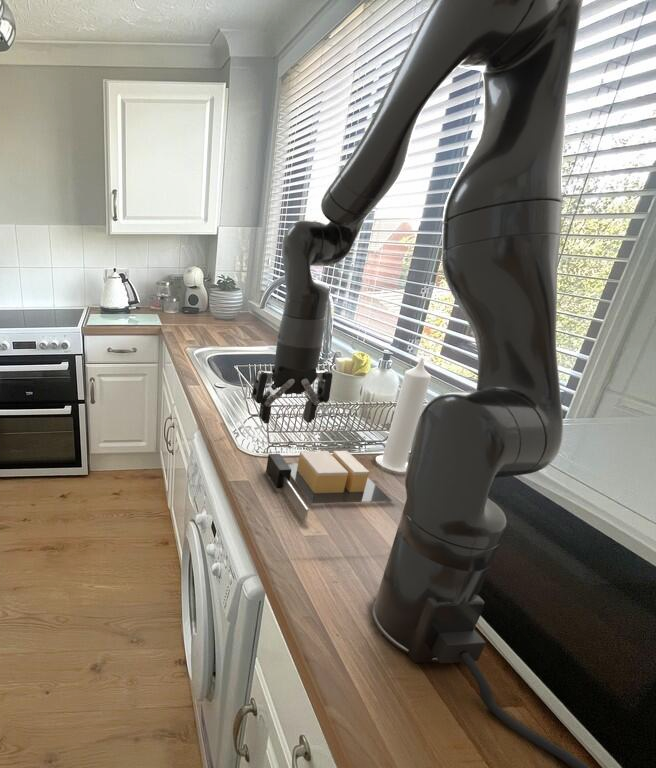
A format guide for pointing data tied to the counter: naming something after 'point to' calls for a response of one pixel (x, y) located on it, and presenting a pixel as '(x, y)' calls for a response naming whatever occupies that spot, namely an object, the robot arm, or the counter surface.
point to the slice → (352, 471)
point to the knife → (285, 482)
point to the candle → (405, 418)
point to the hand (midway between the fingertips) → (286, 421)
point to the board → (368, 495)
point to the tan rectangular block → (322, 472)
